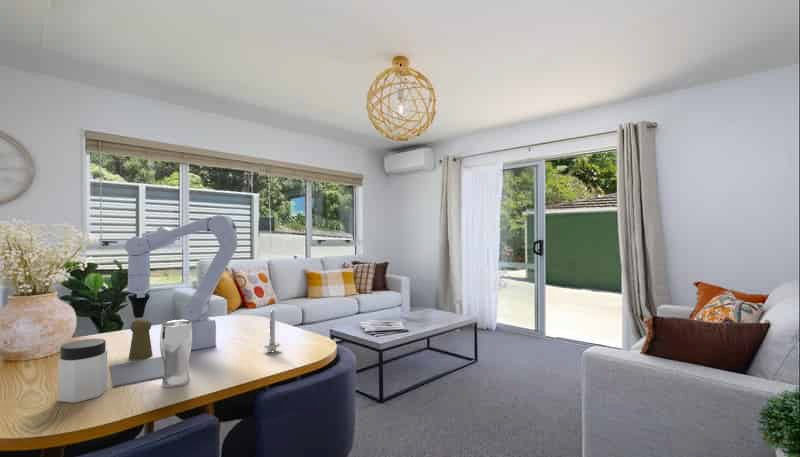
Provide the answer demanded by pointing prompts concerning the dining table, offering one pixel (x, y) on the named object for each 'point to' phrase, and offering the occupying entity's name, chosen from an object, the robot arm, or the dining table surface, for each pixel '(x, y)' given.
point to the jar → (82, 370)
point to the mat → (136, 371)
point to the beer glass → (175, 352)
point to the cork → (140, 340)
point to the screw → (272, 335)
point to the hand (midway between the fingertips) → (138, 317)
